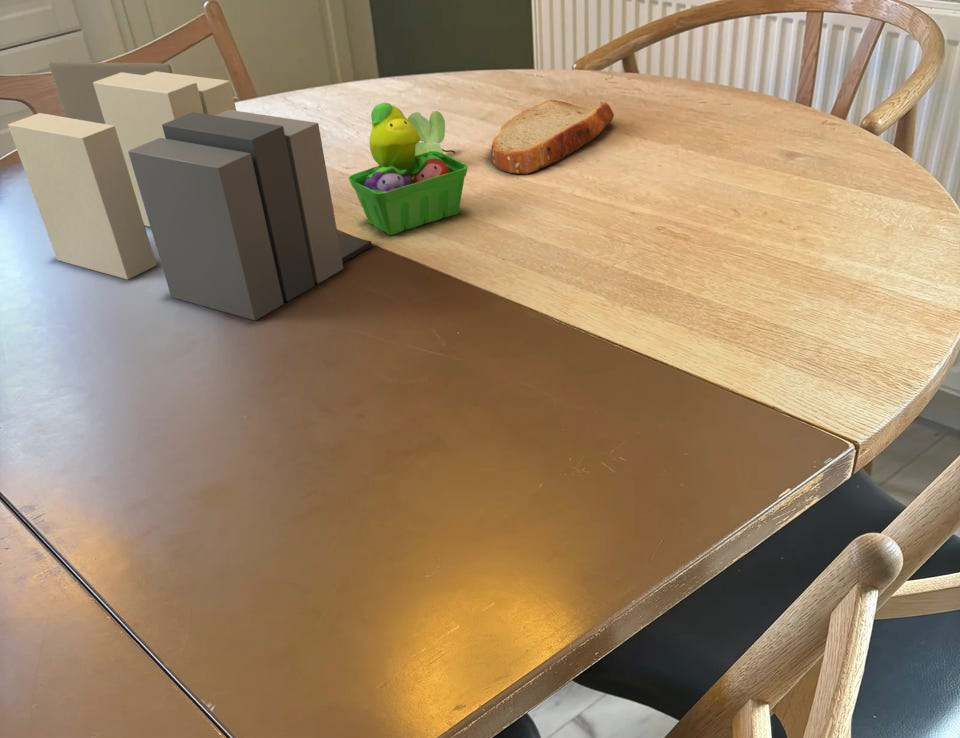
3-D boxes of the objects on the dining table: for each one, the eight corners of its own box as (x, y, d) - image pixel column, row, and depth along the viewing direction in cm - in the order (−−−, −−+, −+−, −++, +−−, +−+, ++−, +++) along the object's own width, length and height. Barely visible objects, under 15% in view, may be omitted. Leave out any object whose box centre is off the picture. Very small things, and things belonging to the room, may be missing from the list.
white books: (206, 240, 113) (167, 92, 103) (135, 223, 119) (92, 82, 108) (293, 196, 121) (265, 55, 111) (223, 182, 127) (190, 47, 117)
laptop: (247, 145, 137) (223, 36, 128) (198, 178, 129) (168, 64, 120) (136, 141, 143) (106, 35, 134) (82, 172, 134) (46, 62, 125)
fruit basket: (384, 242, 108) (368, 129, 101) (348, 219, 114) (330, 111, 107) (475, 214, 112) (466, 103, 105) (435, 193, 118) (423, 87, 110)
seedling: (446, 201, 130) (415, 188, 124) (424, 148, 131) (391, 133, 126) (488, 164, 126) (457, 149, 120) (464, 110, 127) (432, 93, 122)
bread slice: (503, 178, 120) (501, 145, 117) (469, 134, 133) (466, 103, 130) (647, 154, 122) (648, 121, 120) (599, 113, 135) (599, 82, 133)
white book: (128, 280, 107) (82, 138, 97) (57, 260, 112) (7, 124, 103) (156, 265, 109) (114, 125, 99) (85, 247, 114) (39, 112, 105)
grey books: (255, 321, 97) (215, 155, 87) (171, 297, 102) (124, 139, 92) (379, 248, 108) (356, 93, 97) (296, 230, 113) (267, 82, 103)
